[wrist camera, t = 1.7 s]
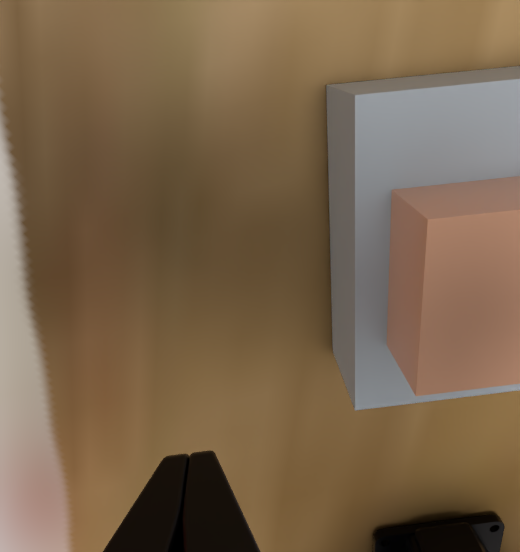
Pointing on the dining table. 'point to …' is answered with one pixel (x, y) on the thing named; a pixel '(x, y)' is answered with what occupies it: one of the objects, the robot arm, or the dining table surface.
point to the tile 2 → (455, 285)
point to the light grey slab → (396, 175)
